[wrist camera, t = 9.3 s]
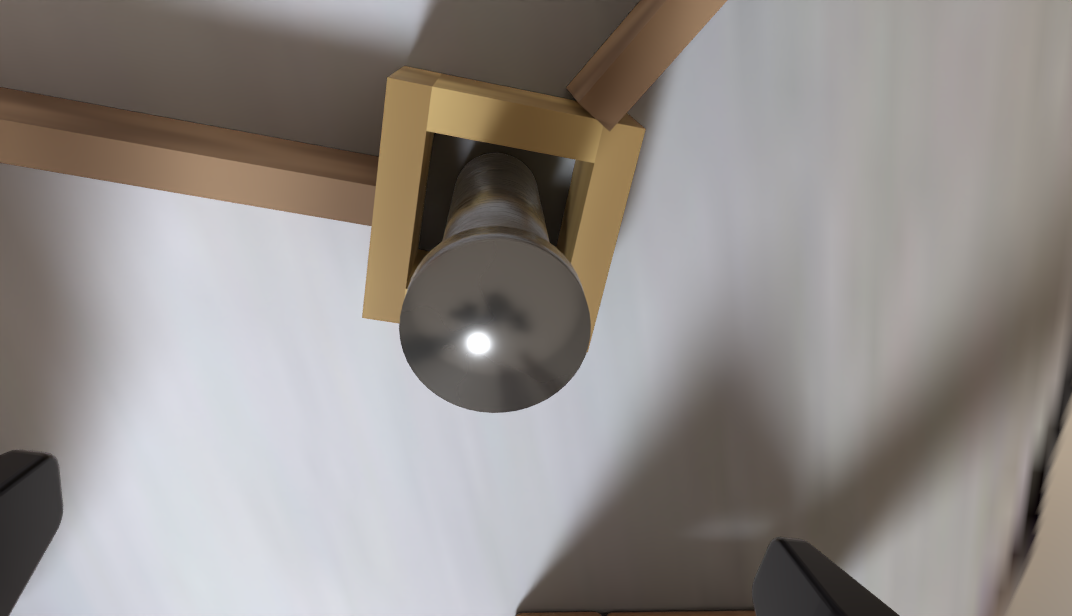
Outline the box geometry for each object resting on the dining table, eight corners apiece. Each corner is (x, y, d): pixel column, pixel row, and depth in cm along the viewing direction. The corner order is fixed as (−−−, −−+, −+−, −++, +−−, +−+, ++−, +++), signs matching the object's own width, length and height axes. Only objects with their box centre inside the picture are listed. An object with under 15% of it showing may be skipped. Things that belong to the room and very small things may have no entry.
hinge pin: (432, 238, 20) (389, 398, 12) (448, 128, 18) (411, 225, 10) (539, 256, 20) (568, 424, 12) (562, 150, 19) (611, 259, 11)
